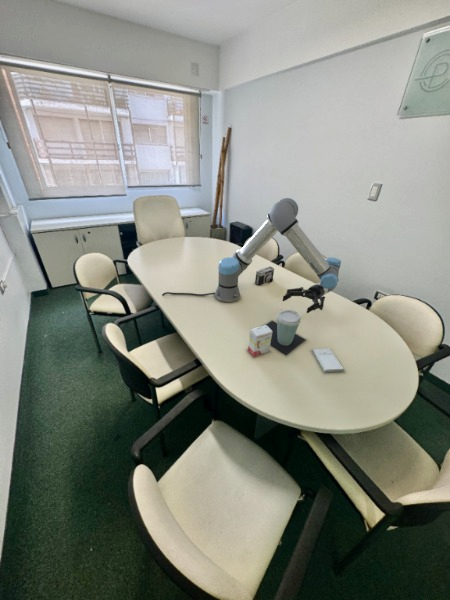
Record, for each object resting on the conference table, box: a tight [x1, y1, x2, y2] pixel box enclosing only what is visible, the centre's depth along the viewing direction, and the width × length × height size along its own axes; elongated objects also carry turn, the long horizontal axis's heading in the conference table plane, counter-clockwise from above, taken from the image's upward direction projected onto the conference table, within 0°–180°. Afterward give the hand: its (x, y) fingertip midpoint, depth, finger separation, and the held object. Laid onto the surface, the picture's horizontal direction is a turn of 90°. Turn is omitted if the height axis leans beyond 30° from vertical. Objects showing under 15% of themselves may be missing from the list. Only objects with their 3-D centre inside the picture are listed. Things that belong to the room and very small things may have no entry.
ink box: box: [247, 324, 273, 358], centre depth 105 cm, size 9×5×12 cm, turn 116°
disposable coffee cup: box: [276, 309, 302, 345], centre depth 111 cm, size 11×11×15 cm
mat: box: [265, 320, 306, 356], centre depth 117 cm, size 20×16×1 cm
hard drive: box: [312, 347, 345, 373], centre depth 104 cm, size 2×8×12 cm
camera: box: [254, 266, 275, 287], centre depth 164 cm, size 14×8×10 cm, turn 130°
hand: (295, 304), depth 116 cm, fingers open, 13 cm apart
